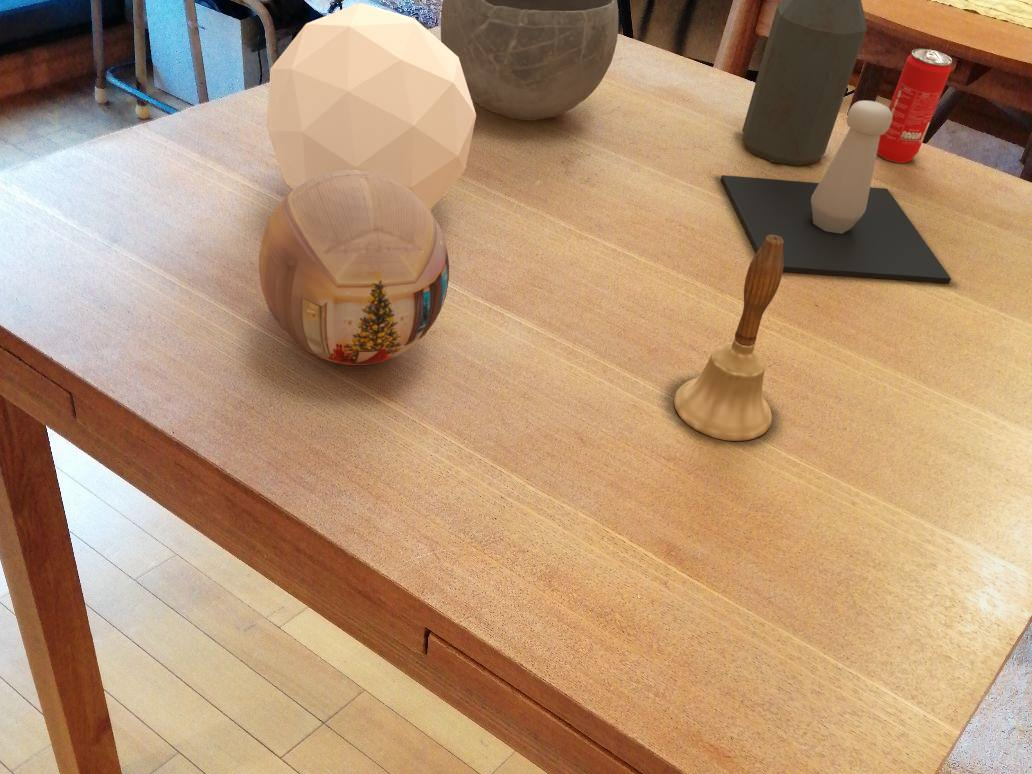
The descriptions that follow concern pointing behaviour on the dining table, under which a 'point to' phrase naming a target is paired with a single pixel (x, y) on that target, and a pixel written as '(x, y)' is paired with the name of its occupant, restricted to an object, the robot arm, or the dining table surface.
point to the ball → (371, 102)
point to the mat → (809, 249)
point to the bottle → (803, 79)
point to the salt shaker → (851, 169)
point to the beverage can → (914, 104)
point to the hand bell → (737, 363)
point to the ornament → (353, 267)
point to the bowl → (531, 51)
